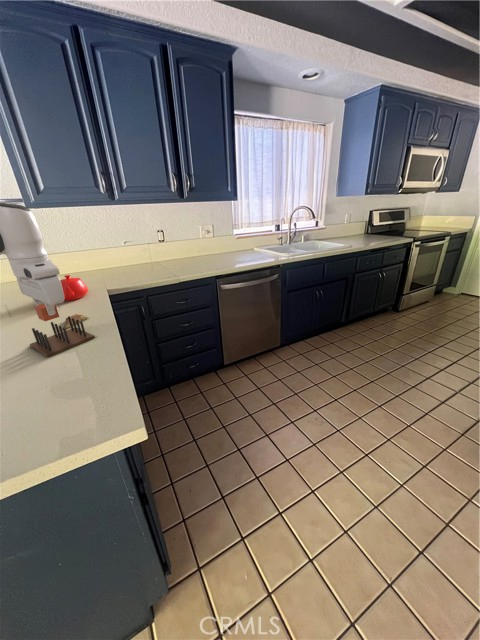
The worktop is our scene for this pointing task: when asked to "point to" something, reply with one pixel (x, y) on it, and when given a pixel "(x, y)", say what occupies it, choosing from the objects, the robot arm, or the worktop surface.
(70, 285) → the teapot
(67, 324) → the shard
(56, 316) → the block
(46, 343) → the dish rack
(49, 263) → the robot arm
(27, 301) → the worktop surface
